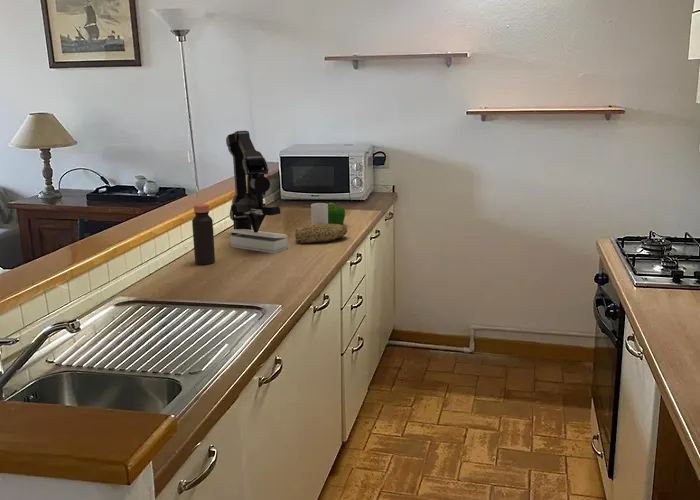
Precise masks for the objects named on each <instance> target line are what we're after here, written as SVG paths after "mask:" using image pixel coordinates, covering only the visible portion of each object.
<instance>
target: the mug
mask: <svg viewBox="0 0 700 500" xmlns="http://www.w3.org/2000/svg"><path fill="white" fill-rule="evenodd" d="M328 206H329V203H324V202H316V203H312V204H310V216H311V217H310V219H311V225H315V224H320V223H327V224H328Z"/></svg>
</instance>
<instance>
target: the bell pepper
mask: <svg viewBox="0 0 700 500" xmlns="http://www.w3.org/2000/svg"><path fill="white" fill-rule="evenodd" d="M328 206H330V207H328V224H340V225H343V224H344V223H345V222H344V221H345V216H346V210H345V207H341V206H339V205H338V206H336V204H335V203H333V202H329V203H328ZM343 226H344V225H343Z"/></svg>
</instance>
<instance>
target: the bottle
mask: <svg viewBox="0 0 700 500" xmlns="http://www.w3.org/2000/svg"><path fill="white" fill-rule="evenodd" d="M193 211H194V214H195V216H194V217H193V219H192V220H191V225H192V239H193V251H194V252H193V253H194V263H195V265H201V266H204V265H205V266H206V265H212V264H214V263H215V262H216V253H215V252H216V250H215V237H214V235H215V234H214V223H213V222H214V221H213V219H212V217H211V216H210V215H209V214H210V205H209V204H208V203H197V204H194V205H193Z"/></svg>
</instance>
